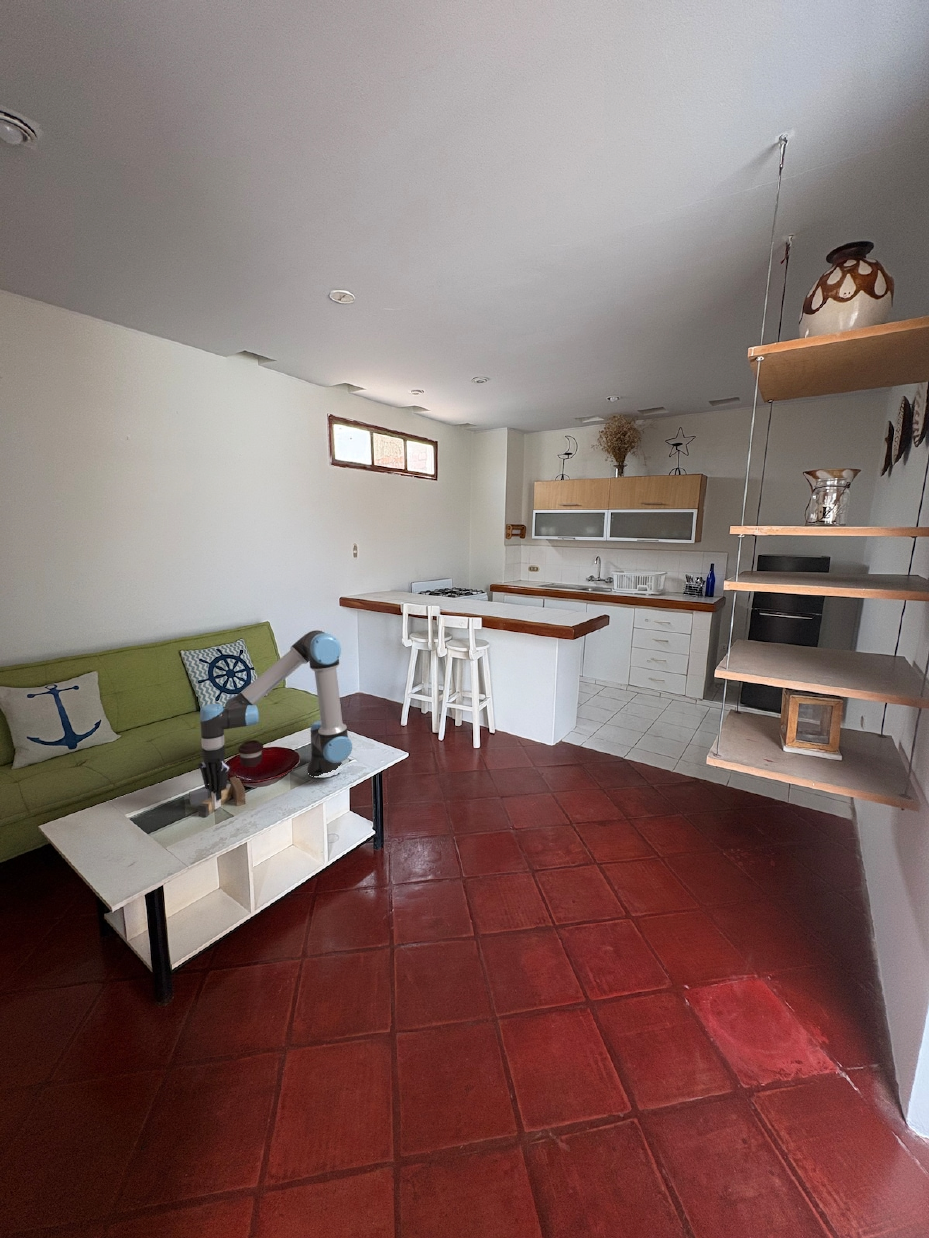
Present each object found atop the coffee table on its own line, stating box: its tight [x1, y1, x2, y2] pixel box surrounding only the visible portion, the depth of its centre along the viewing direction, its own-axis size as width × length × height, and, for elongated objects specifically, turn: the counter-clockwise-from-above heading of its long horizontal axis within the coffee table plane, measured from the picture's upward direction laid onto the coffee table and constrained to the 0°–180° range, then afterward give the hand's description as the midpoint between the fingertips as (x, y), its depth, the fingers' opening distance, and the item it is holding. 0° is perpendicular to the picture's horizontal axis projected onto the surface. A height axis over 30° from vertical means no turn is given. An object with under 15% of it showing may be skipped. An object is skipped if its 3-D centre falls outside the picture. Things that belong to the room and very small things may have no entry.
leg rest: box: [188, 787, 209, 806], centre depth 190 cm, size 6×3×4 cm, turn 125°
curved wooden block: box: [229, 775, 246, 807], centre depth 193 cm, size 3×14×6 cm, turn 35°
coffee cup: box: [237, 739, 264, 767], centre depth 213 cm, size 10×10×15 cm
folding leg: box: [197, 783, 232, 818], centre depth 186 cm, size 16×3×5 cm, turn 170°
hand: (216, 807), depth 183 cm, fingers closed
